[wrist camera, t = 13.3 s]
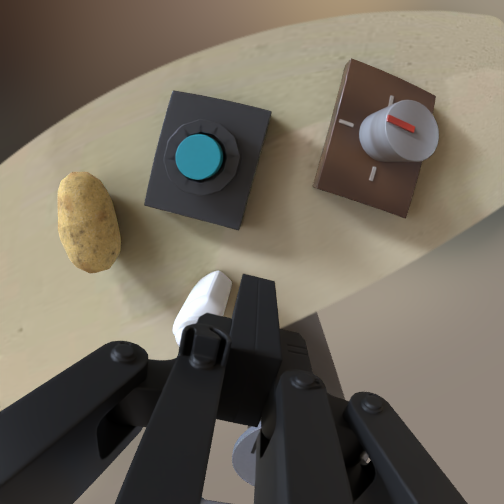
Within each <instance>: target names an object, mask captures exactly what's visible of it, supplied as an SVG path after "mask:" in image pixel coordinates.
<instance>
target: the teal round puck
mask: <svg viewBox="0 0 504 504" xmlns="http://www.w3.org/2000/svg"><path fill="white" fill-rule="evenodd" d="M222 162H223V151H222V148H221V146H220V145H219V144H218V142H217V141H215V140H214V139H212V138H211V137H209V136H206V135H202V134H195V135H191V136H189V137H187V138H186V139H184V140H183V141H182V142H181V143H180V145H179V146H178V149H177V151H176V164H177V167H178V169H179V170H180V172H181V173H182V174H183V175H185V176H186V177H188V178H191V179H195V180H200V179H205V178H209V177H211V176H213V175H214V174H216V173H217V172H218V170H219V169H220V167H221V165H222Z"/></svg>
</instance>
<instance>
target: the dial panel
mask: <svg viewBox="0 0 504 504" xmlns="http://www.w3.org/2000/svg"><path fill="white" fill-rule="evenodd" d="M435 98H436V96H435V95H433V94H431V93H429V92H427V91H425V90H423V89H421V88H419V87H417V86H415V85H413V84H411V83H409V82H407V81H404V80H402V79H400V78H398V77H396V76H393V75H391V74H389V73H387V72H384V71H382V70H380V69H377V68H375V67H372V66H370V65H367V64H365V63H362V62H359V61H357V60H354V59H350V60H349V62H348V63H347V64H346V65H345V68H344V72H343V76H342V80H341V84H340V88H339V92H338V96H337V100H336V104H335V108H334V111H333V115H332V119H331V123H330V126H329V130H328V134H327V137H326V141H325V145H324V148H323V152H322V155H321V159H320V162H319V166H318V169H317V173H316V176H315V180H314V183H313V187H314V188H317V189H320V190H323V191H327V192H330V193H333V194H336V195H339V196H342V197H345V198H348V199H351V200H354V201H357V202H360V203H363V204H366V205H369V206H372V207H375V208H378V209H381V210H383V211H386V212H389V213H392V214H394V215H397V216H400V217H403V218H406V216H407V213H408V210H409V206H410V203H411V200H412V196H413V193H414V189H415V186H416V182H417V178H418V175H419V171H420V167H421V163H422V161H420V162H381V161H377V160H375V159H373V158H371V157H370V156H369V155H368V154H367V153H366V152H365V151H364V149H363V147H362V145H361V142H360V138H359V131H360V126H361V124H362V122H363V121H364V119H365V118H366V117H367V116H369V115H371V114H373V113H375V112H377V111H379V110H381V109H384V108H386V107H388V106H390V105H392V104H395V103H397V102H399V101H402V100H413V101H416V102H419V103H421V104H422V105H424V106H425V107H426V108H427V109H428V110H429V111H430V112H431V113H432V114H433V109H434V104H435Z"/></svg>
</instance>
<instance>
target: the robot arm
mask: <svg viewBox="0 0 504 504" xmlns="http://www.w3.org/2000/svg"><path fill="white" fill-rule="evenodd" d="M216 419H219V420H224V421H228V422H233V423H238V424H243V425H248V426H254V427H258V424H259V421H260V419H261V429H260V431H259V433H258V436H257V438H256V441H255V443H254V445H253V448H252V450H251V453H252V454H254V453H255V450H256V468H255V493H254V504H467V502H466V501H465V500H464V498H463V497H462V496H461V494H460V493H459V492H458V491H457V490H456V488H455V487H454V485H453V484H452V483H451V482H450V480H449V479H448V478H447V477H446V475H445V474H444V473H443V472H442V470H441V469H440V468H439V466H438V465H437V464H436V462H435V461H434V460H433V459H432V457H431V456H430V455H429V454H428V452H427V451H426V450H425V448H424V447H423V446H422V445H421V443H420V442H419V441H418V440H417V438H416V437H415V436H414V435H413V433H412V432H411V431H410V429H409V428H408V427H407V426H406V425H405V423H404V422H403V421H402V420H401V418H400V417H399V416H398V414H397V413H396V412H395V411H394V409H393V408H392V407H391V406H390V404H389V403H388V402H387V401H386V400H384V399H383V398H382V397H380V396H378V395H376V394H373V393H370V392H358V393H355V394H354V395H353V396H352V397H351V399H350V401H346V400H343V399H340V398H337V397H334V396H332V395H330V394H328V393H327V391H326V387H325V385H324V383H323V381H322V380H321V379H320V378H319V377H318V376H316V375H314V374H313V372H312V368H311V363H310V359H309V356H308V350H307V346H306V342H305V340H304V339H303V337H302V336H301V335H300V334H299V333H297V332H292V331H288V330H283V329H280V328H279V318H278V308H277V299H276V289H275V281H271V280H267V279H263V278H259V277H255V276H251V275H247V274H243V275H242V279H241V283H240V287H239V291H238V295H237V299H236V303H235V307H234V311H233V315H232V319H231V318H227V317H223V316H219V315H215V314H211V313H205V314H203V315H202V316H200V317H199V318H198V320H197V323H196V324H190V325H187V326H186V327H185V328H184V329H183V330H182V335H181V341H180V347H179V353H178V356H177V358H175V359H172V360H150V359H148V354H147V352H146V351H145V350H144V349H143V348H142V347H140V346H139V345H137V344H134V343H131V342H127V341H113V342H110V343H107V344H105V345H103V346H102V347H100V348H99V349H97V350H95V351H94V352H92V353H91V354H89V355H88V356H86V357H85V358H83V359H81V360H80V361H78V362H77V363H75V364H74V365H72V366H71V367H69V368H67V369H66V370H64V371H63V372H61V373H60V374H58V375H57V376H55V377H53V378H52V379H50V380H49V381H47V382H46V383H44V384H43V385H41V386H39V387H38V388H36V389H35V390H33V391H32V392H30V393H29V394H27V395H25V396H24V397H22V398H21V399H19V400H18V401H16V402H15V403H13V404H11V405H10V406H8V407H7V408H5V409H4V410H2V411H1V412H0V504H73V503H74V502H75V501H76V500H77V499H78V498H79V497H80V496H81V495H82V494H83V493H84V491H86V489H87V488H88V487H89V486H90V485H91V484H92V483H93V482H94V481H95V480H96V479H97V478H98V477H99V476H100V475H101V474H102V473H103V471H105V469H106V468H107V467H108V466H109V465H110V464H111V463H112V462H113V461H114V460H115V459H116V458H117V456H118V455H119V454H120V453H121V452H122V451H123V450H124V449H125V448H126V447H127V446H128V445H129V443H130V442H131V441H132V440H133V439H134V438H135V437H136V436H137V435H138V434H139V432H140V431H141V430H142V428H143V427H146V430H145V432H144V434H143V437H142V439H141V441H140V444H139V446H138V449H137V451H136V453H135V456H134V458H133V460H132V463H131V465H130V468H129V470H128V473H127V475H126V478H125V480H124V482H123V485H122V487H121V490H120V492H119V494H118V497H117V500H116V502H115V504H230V503H223V502H217V501H211V500H205V499H204V498H202V492H203V486H204V480H205V475H206V470H207V464H208V459H209V453H210V448H211V442H212V437H213V432H214V426H215V421H216ZM366 453H367V455H368V457H369V458H370V460H371V461H370V462H369V463H366V462H365V460H364V459H363V457H364V455H365V454H366Z"/></svg>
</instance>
